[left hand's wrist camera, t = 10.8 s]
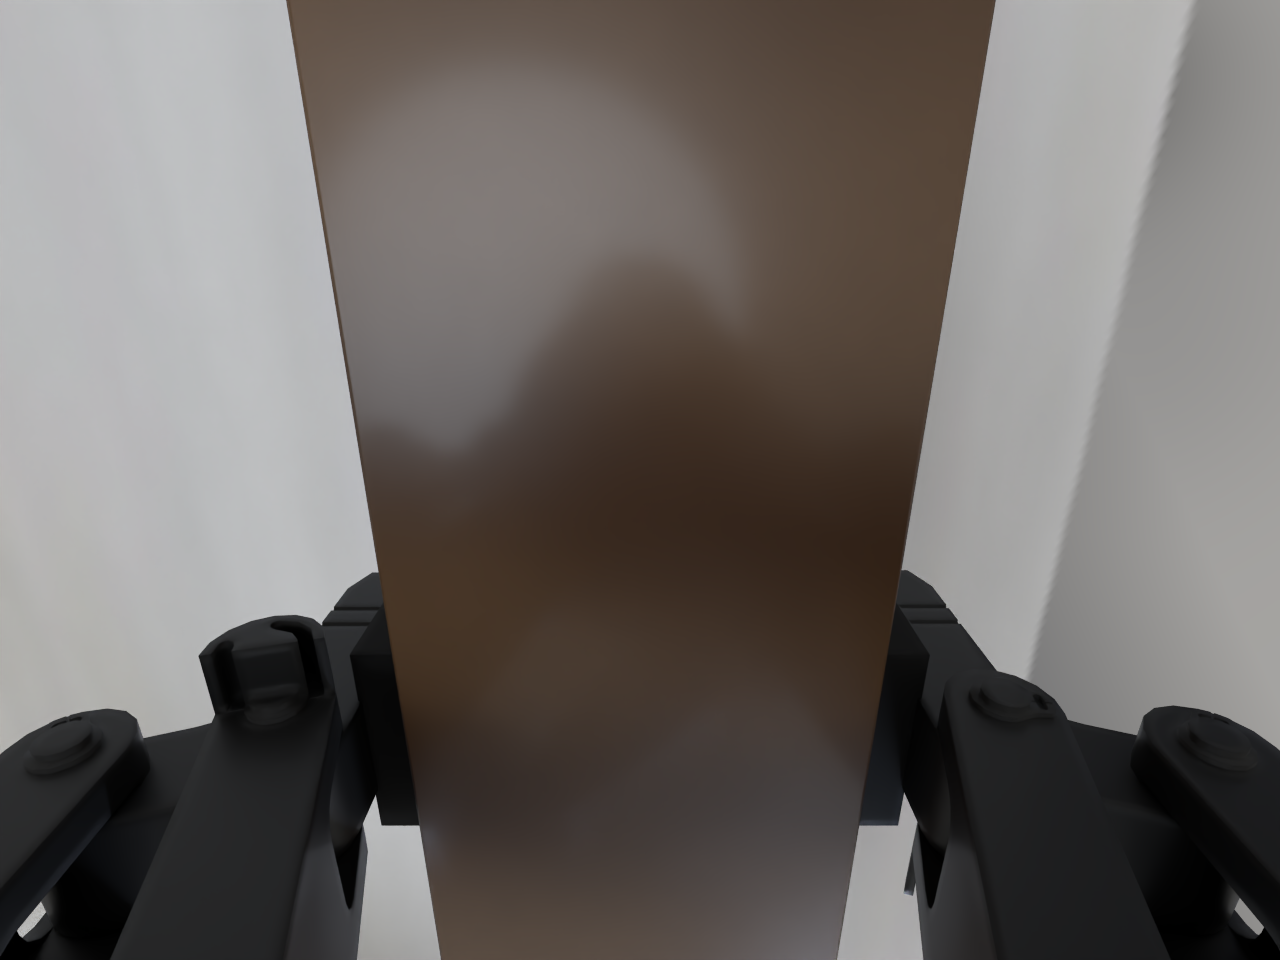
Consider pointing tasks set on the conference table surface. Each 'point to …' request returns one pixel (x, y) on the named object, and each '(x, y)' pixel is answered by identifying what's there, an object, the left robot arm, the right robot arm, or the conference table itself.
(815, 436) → the bar
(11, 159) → the conference table surface
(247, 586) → the conference table surface
